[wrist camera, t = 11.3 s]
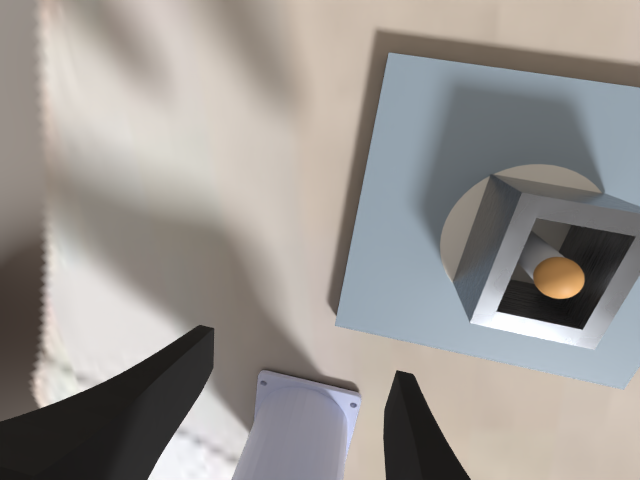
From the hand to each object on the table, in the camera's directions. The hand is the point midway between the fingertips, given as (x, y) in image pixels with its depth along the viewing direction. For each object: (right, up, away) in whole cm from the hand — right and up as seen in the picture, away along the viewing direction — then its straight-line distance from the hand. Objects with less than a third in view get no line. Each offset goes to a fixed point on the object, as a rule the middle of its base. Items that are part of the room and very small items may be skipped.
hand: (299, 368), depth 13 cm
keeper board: (+12, +5, +6) cm, 14 cm away
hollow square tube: (+12, +5, +5) cm, 14 cm away
